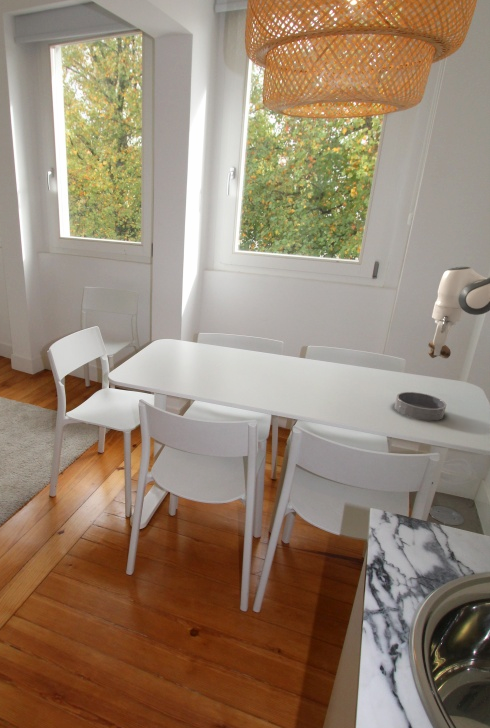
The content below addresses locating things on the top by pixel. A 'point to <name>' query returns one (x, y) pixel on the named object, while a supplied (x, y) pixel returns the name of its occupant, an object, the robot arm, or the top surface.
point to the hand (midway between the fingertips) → (437, 351)
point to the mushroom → (444, 351)
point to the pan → (420, 406)
